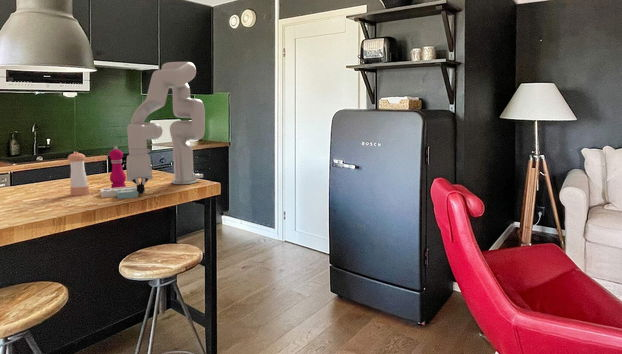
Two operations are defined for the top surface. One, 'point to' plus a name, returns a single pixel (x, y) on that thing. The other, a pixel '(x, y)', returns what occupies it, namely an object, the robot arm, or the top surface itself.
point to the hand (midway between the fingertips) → (140, 193)
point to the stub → (127, 193)
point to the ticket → (112, 191)
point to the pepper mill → (117, 169)
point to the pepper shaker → (78, 174)
